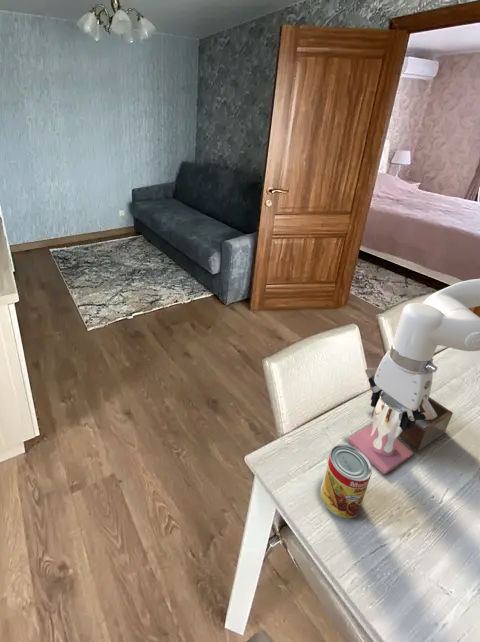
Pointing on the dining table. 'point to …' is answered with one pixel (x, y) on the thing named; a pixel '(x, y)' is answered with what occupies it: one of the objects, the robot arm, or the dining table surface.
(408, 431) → the brown wooden box
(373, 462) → the mat
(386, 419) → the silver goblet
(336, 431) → the dining table surface
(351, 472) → the canned food
